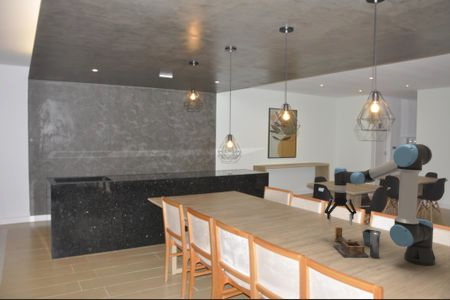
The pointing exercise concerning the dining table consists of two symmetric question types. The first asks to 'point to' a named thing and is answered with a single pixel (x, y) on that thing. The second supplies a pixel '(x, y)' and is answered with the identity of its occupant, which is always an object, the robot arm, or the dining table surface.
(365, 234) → the flower pot
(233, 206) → the dining table surface
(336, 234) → the lock pin
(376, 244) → the grey metal cylinder
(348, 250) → the dock
